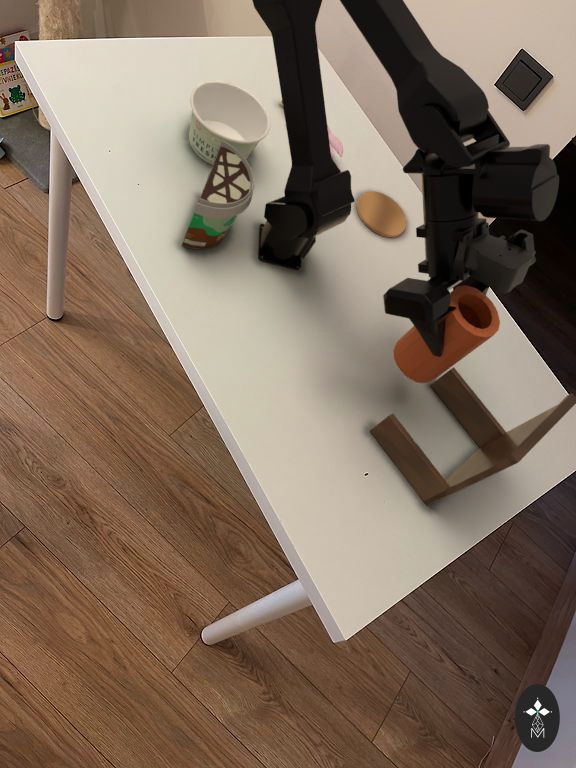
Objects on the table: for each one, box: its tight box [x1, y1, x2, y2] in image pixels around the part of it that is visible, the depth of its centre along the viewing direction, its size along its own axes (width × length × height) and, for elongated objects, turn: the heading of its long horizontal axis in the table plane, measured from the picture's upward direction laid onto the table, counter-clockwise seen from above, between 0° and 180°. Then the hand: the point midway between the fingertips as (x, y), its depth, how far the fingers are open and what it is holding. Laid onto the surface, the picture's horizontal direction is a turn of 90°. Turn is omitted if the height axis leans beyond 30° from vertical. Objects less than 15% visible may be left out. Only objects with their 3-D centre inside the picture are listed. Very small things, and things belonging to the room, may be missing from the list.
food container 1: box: [188, 80, 271, 166], centre depth 88 cm, size 12×12×6 cm
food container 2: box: [181, 140, 255, 250], centre depth 79 cm, size 12×6×10 cm, turn 168°
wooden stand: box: [369, 366, 576, 506], centre depth 74 cm, size 12×15×17 cm
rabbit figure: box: [279, 100, 344, 159], centre depth 98 cm, size 6×6×15 cm
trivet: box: [356, 191, 407, 238], centre depth 98 cm, size 9×9×1 cm
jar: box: [393, 286, 501, 384], centre depth 72 cm, size 7×7×12 cm
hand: (453, 343), depth 72 cm, fingers closed on jar, 7 cm apart
